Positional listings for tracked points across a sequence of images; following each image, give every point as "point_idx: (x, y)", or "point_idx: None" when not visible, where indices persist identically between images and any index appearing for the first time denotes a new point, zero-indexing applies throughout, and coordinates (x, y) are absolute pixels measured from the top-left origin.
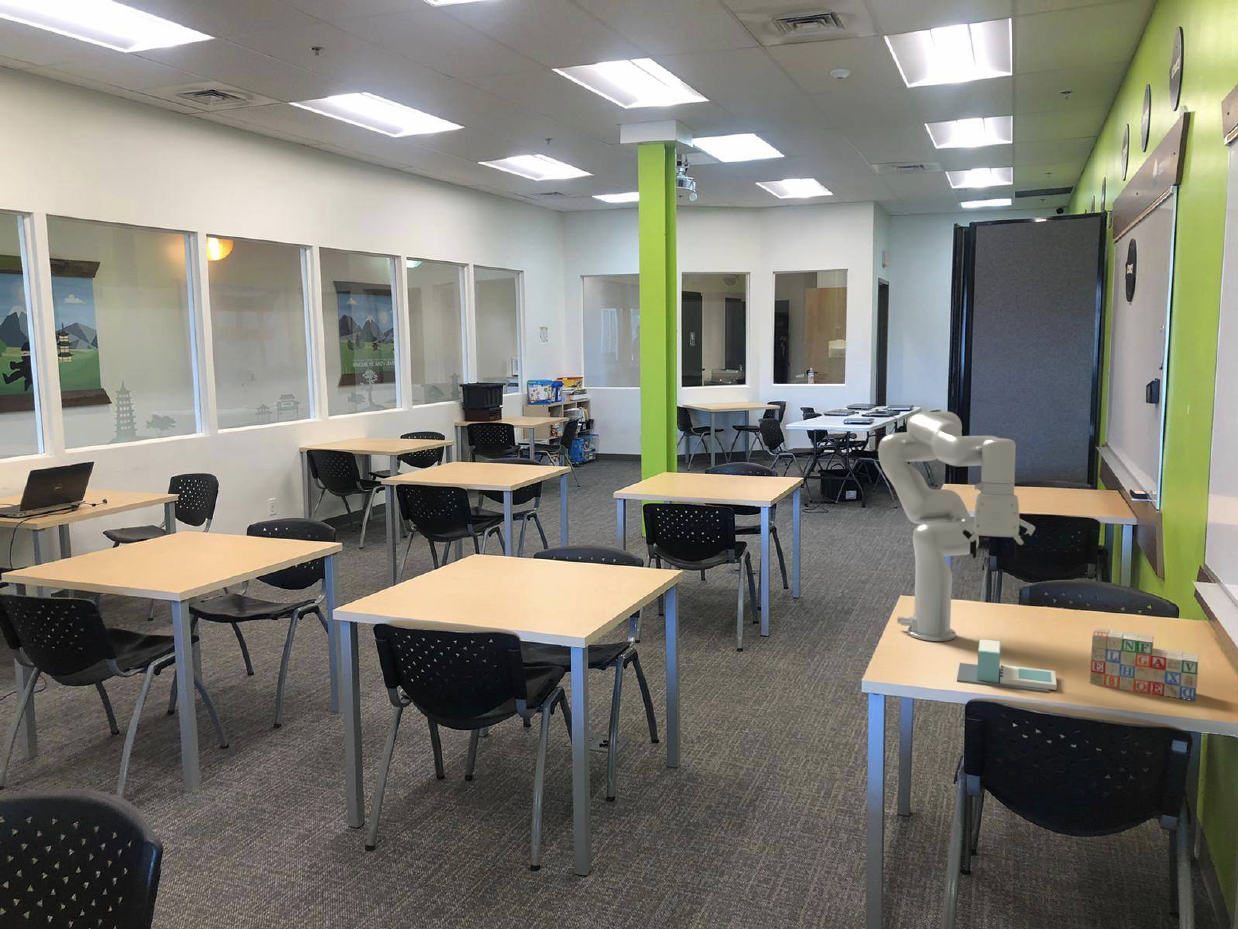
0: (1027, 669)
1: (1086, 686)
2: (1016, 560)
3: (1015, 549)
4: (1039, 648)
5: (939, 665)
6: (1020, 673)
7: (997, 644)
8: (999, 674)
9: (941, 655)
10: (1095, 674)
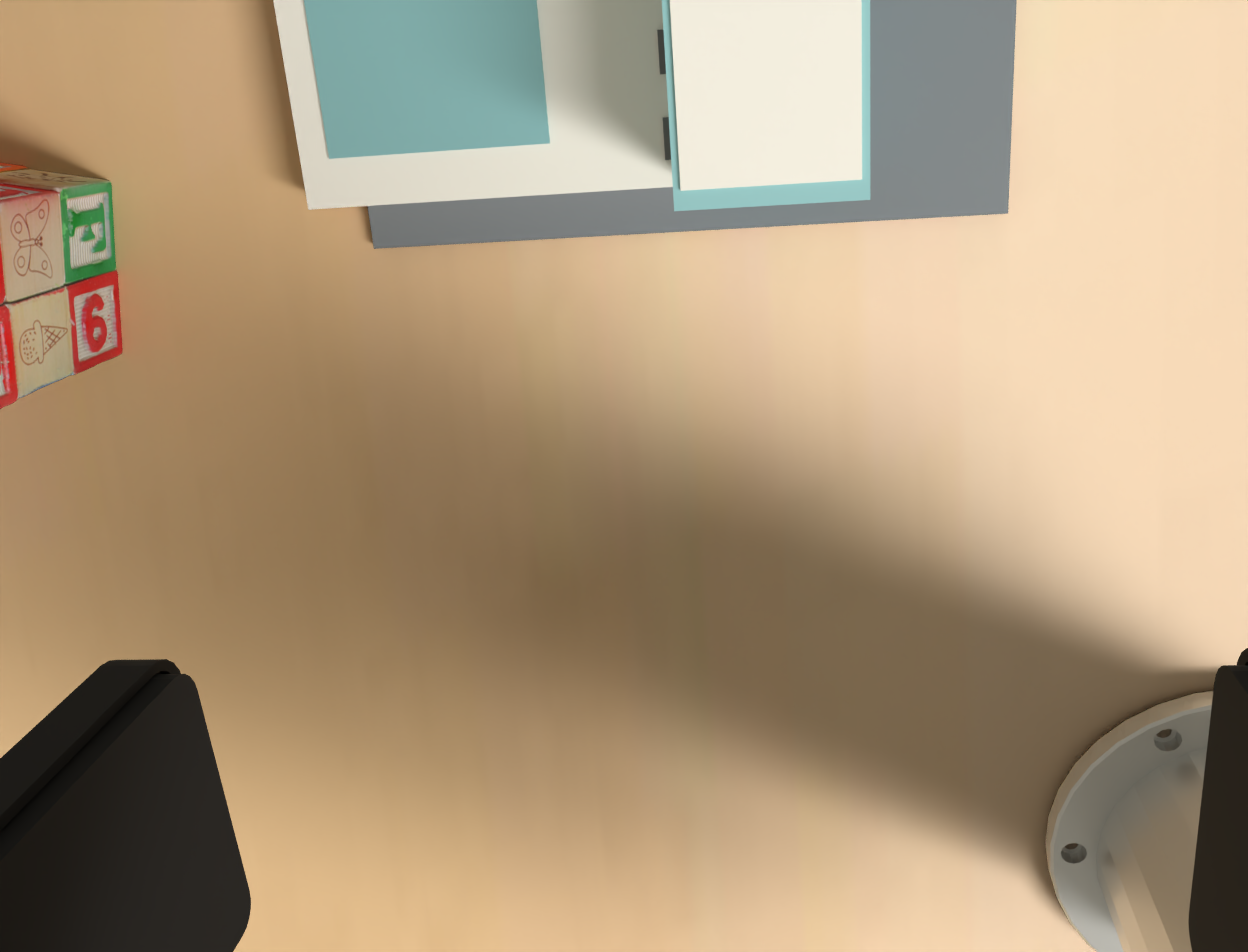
0: (485, 144)
1: (119, 103)
2: (162, 664)
3: (33, 907)
4: (489, 780)
5: (1176, 110)
6: (523, 10)
7: (693, 70)
8: None
9: (1155, 383)
10: (37, 182)
